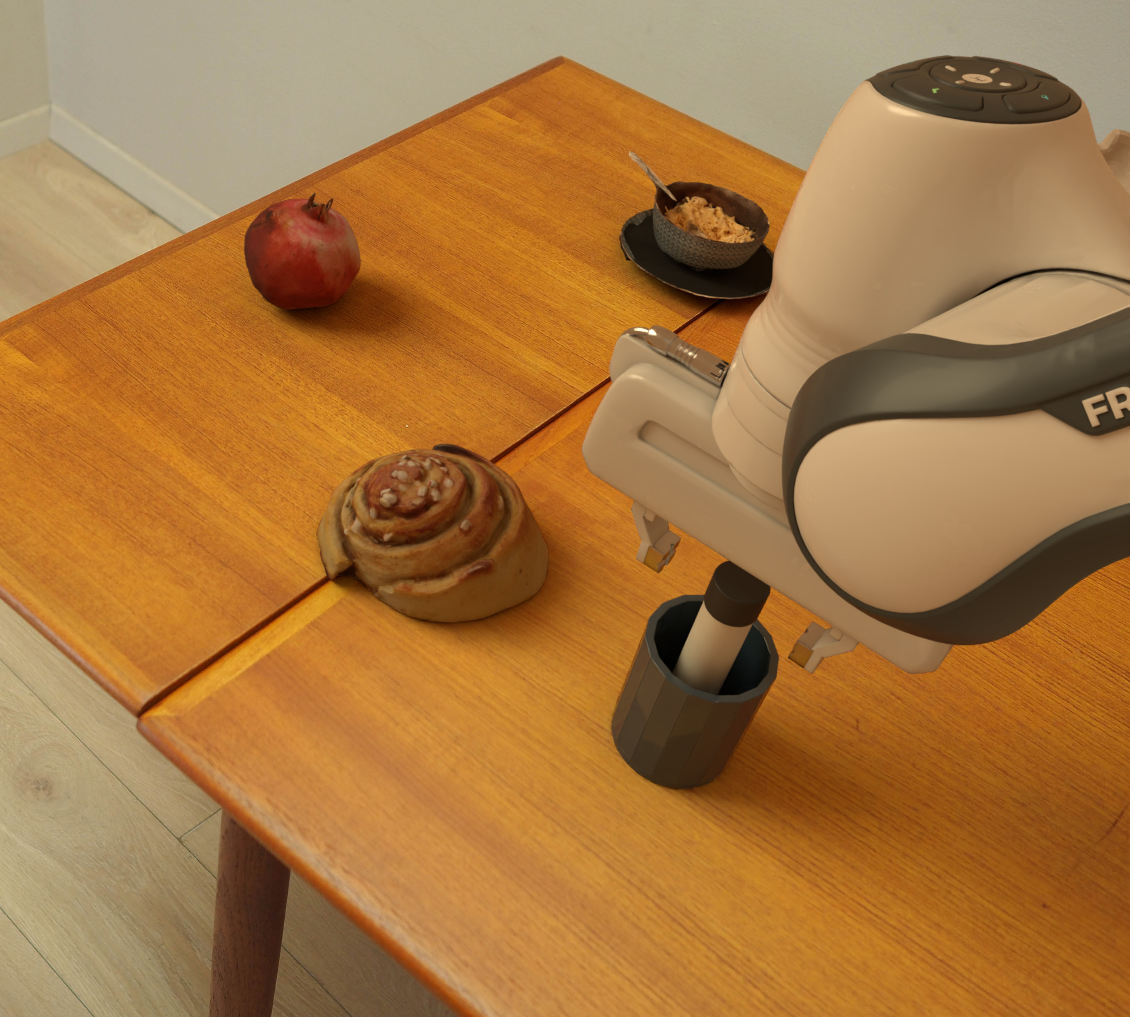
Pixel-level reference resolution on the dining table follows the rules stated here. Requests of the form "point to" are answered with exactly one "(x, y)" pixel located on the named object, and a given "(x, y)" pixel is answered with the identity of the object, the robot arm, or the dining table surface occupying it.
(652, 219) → the soup bowl
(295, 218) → the fruit
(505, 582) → the pastry
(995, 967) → the dining table surface
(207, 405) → the dining table surface
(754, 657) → the pen cup
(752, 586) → the marker
